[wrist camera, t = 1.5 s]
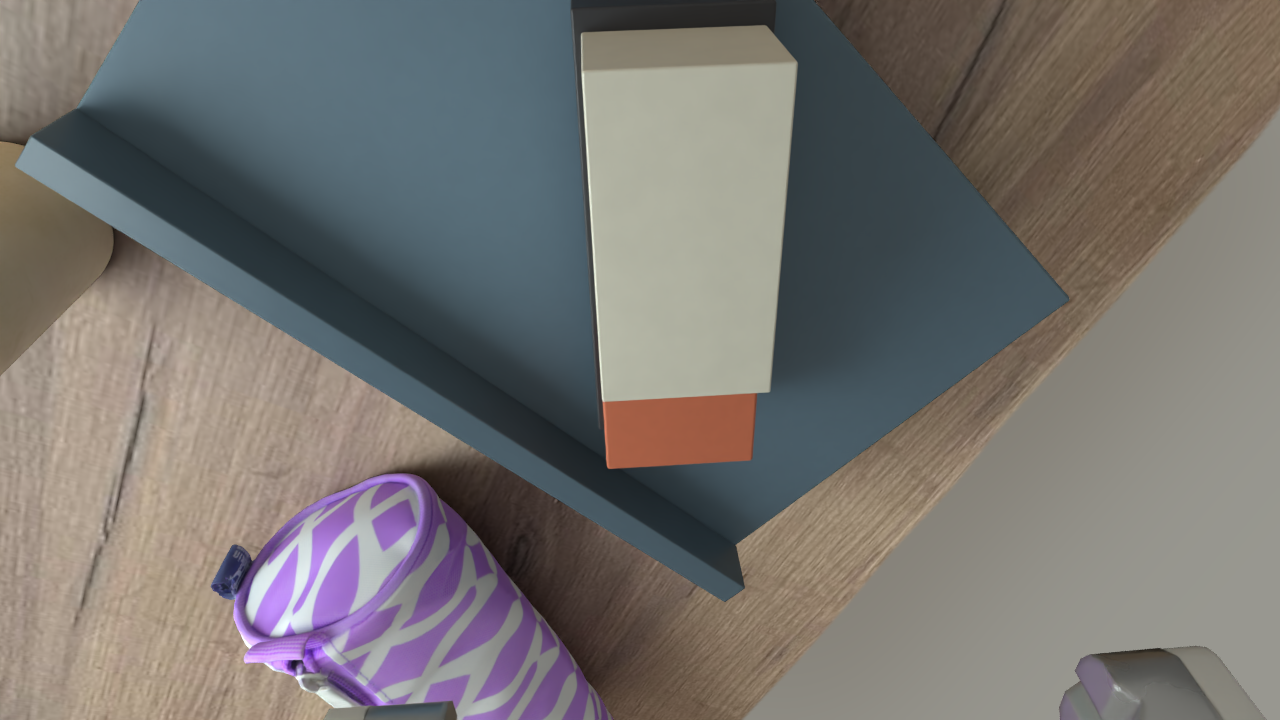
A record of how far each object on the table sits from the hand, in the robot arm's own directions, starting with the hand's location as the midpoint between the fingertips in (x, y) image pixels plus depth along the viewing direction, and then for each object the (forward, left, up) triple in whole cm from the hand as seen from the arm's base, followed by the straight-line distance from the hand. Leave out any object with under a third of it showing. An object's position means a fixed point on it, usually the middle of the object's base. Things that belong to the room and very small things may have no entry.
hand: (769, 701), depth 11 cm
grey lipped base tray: (+1, -1, -21) cm, 21 cm away
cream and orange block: (0, 0, -15) cm, 15 cm away
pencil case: (+23, +10, -21) cm, 32 cm away
